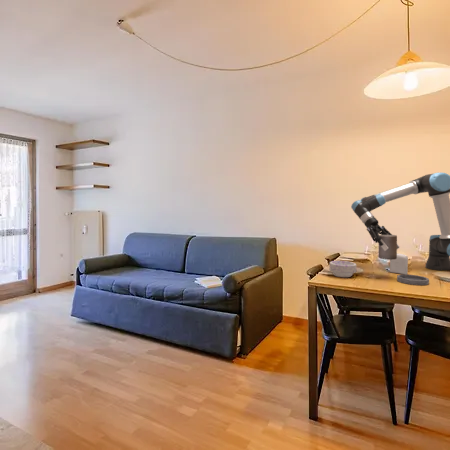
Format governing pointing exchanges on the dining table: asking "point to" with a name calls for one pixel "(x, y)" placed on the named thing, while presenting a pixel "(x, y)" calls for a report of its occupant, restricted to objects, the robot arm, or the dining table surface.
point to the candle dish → (413, 279)
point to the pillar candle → (392, 247)
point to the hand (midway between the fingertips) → (392, 248)
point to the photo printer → (399, 264)
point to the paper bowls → (342, 268)
